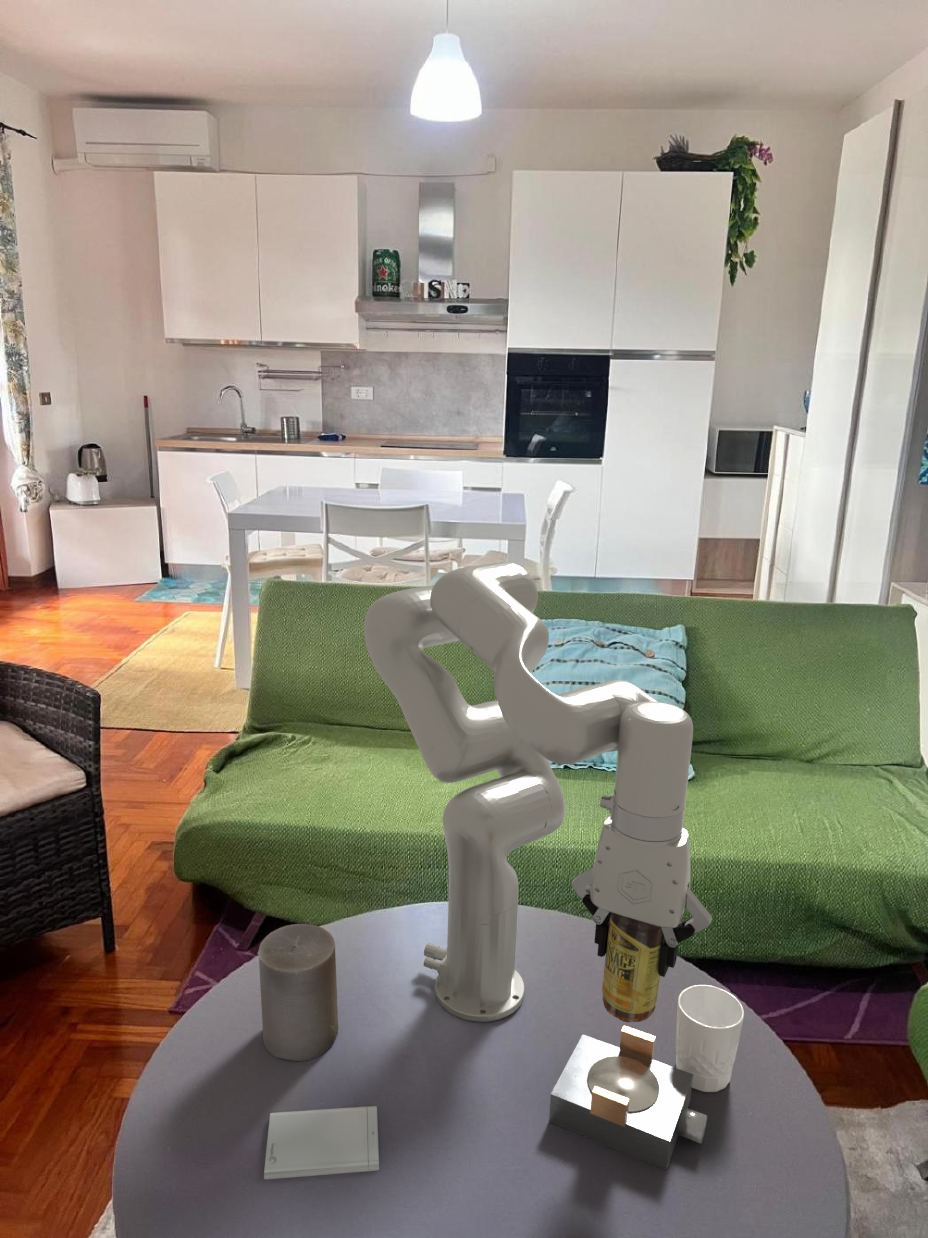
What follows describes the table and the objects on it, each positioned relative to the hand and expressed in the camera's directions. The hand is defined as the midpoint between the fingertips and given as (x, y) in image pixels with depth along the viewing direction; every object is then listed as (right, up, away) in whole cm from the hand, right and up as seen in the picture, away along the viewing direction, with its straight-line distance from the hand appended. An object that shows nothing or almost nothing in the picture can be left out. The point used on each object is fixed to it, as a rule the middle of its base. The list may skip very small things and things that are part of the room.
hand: (634, 958), depth 103 cm
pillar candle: (-41, -17, +17) cm, 47 cm away
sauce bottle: (0, -7, +2) cm, 7 cm away
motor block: (+1, -21, +5) cm, 21 cm away
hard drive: (-35, -22, +1) cm, 41 cm away
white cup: (+11, -19, +12) cm, 25 cm away
